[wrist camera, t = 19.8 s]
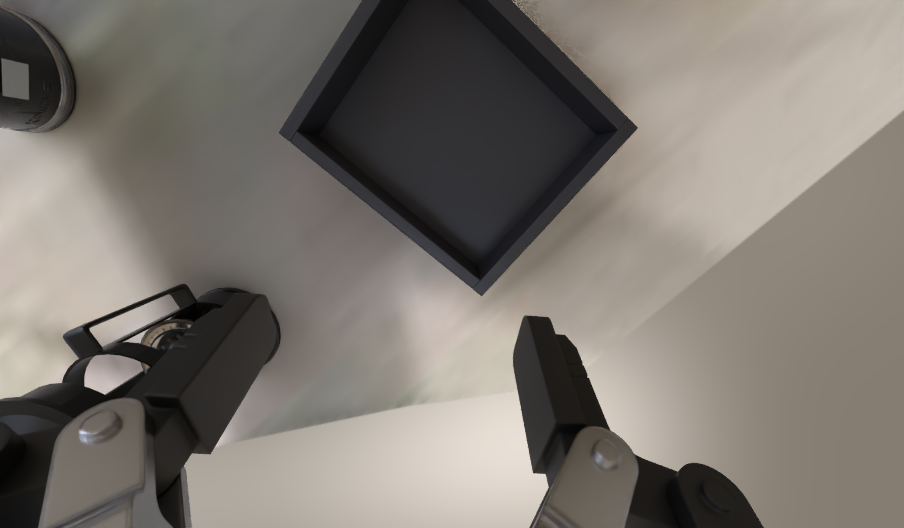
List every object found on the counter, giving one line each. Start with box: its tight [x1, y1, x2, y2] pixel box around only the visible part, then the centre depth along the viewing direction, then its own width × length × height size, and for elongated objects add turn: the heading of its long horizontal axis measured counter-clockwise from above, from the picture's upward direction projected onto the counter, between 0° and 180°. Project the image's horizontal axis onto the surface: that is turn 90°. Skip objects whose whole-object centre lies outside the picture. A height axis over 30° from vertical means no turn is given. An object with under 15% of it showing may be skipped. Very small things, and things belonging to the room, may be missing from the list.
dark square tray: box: [279, 0, 638, 296], centre depth 27 cm, size 20×17×5 cm
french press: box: [0, 284, 280, 435], centre depth 24 cm, size 12×9×23 cm
